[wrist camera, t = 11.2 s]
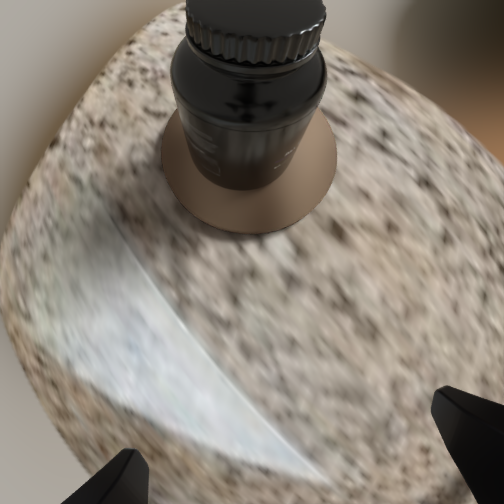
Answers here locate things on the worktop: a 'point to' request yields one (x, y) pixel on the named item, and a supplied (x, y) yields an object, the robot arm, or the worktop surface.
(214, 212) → the walnut trivet
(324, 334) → the worktop surface
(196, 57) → the supplement bottle
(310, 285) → the worktop surface
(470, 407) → the robot arm
